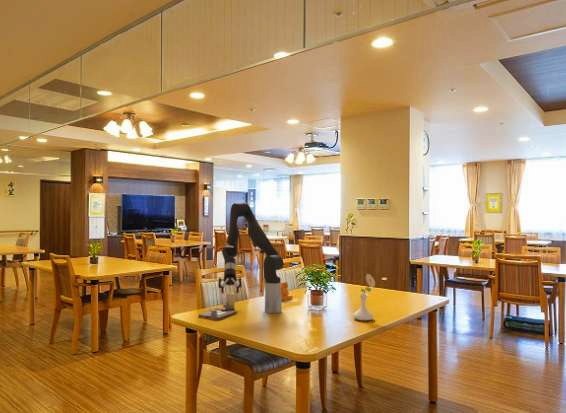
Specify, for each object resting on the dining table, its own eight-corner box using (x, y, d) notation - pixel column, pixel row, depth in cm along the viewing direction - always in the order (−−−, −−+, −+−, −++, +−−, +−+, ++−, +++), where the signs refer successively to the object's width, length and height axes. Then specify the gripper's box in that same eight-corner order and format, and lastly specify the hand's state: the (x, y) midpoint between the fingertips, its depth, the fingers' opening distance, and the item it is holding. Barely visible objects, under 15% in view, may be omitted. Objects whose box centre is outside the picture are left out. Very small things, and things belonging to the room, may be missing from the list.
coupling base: (236, 313, 241) (236, 310, 241) (219, 320, 226) (219, 317, 226) (216, 311, 247) (216, 308, 247) (198, 317, 232) (198, 314, 232)
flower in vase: (361, 323, 223) (361, 276, 224) (348, 318, 234) (349, 273, 234) (380, 320, 230) (380, 274, 230) (367, 315, 240) (367, 272, 240)
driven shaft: (218, 314, 232) (218, 309, 232) (216, 316, 228) (216, 311, 228) (213, 314, 232) (213, 309, 232) (211, 316, 228) (211, 310, 228)
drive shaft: (228, 310, 243) (228, 304, 243) (224, 311, 240) (224, 306, 240) (224, 309, 245) (224, 304, 245) (220, 310, 241) (220, 305, 241)
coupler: (234, 309, 253) (234, 292, 253) (234, 311, 248) (234, 294, 248) (225, 309, 252) (225, 292, 252) (225, 311, 247) (225, 294, 247)
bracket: (280, 301, 277) (280, 283, 277) (274, 299, 283) (274, 281, 283) (293, 299, 283) (293, 281, 283) (287, 297, 289) (287, 280, 289)
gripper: (218, 267, 262) (218, 289, 251) (241, 267, 264) (242, 289, 253) (218, 275, 267) (218, 296, 256) (241, 274, 269) (241, 296, 258)
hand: (230, 292), depth 254 cm, fingers open, 8 cm apart
